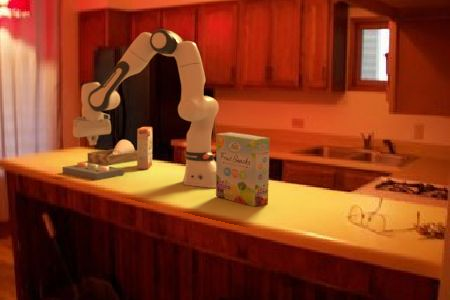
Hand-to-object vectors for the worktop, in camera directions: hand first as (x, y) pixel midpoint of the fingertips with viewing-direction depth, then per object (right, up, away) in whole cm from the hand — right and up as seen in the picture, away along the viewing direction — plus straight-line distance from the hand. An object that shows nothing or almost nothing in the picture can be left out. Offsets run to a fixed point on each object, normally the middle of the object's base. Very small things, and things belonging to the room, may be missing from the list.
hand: (93, 145), depth 237 cm
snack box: (+70, -22, -45) cm, 86 cm away
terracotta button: (-7, -13, +7) cm, 17 cm away
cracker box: (+21, -12, +23) cm, 34 cm away
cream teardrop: (+2, -9, +43) cm, 44 cm away
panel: (-1, -14, +2) cm, 14 cm away
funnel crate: (+2, -9, +41) cm, 42 cm away
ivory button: (+6, -15, -2) cm, 16 cm away
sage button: (-1, -14, +2) cm, 14 cm away
